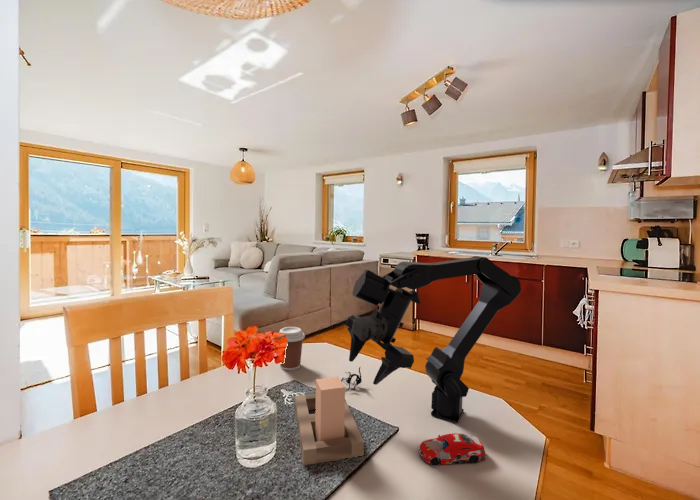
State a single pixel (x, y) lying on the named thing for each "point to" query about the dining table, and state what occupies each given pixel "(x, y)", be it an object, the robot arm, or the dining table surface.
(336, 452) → the puzzle board
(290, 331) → the coffee cup
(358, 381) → the creature
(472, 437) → the race car
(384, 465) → the dining table surface
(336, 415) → the block
